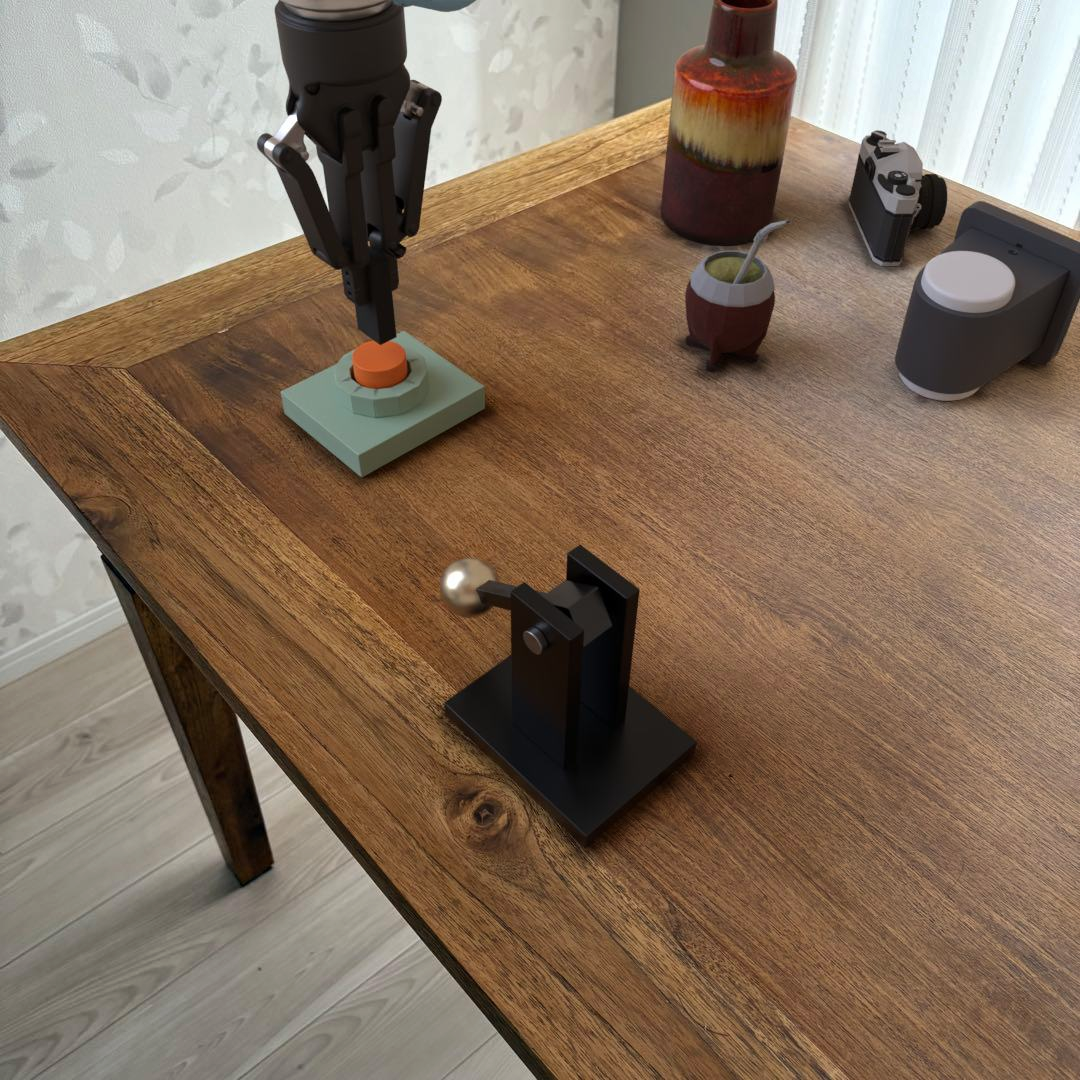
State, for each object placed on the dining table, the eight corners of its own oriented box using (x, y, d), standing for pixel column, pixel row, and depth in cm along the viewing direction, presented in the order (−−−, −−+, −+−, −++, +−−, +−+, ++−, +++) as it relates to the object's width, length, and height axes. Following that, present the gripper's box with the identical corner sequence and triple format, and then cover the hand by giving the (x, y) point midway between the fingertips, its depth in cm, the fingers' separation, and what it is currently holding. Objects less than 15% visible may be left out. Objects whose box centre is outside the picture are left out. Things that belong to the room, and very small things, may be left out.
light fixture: (854, 371, 92) (880, 258, 84) (946, 304, 98) (978, 192, 90) (969, 435, 86) (1009, 320, 78) (1059, 359, 92) (1105, 245, 84)
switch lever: (441, 624, 67) (419, 572, 66) (486, 594, 69) (465, 543, 68) (577, 665, 56) (553, 605, 55) (626, 628, 58) (604, 569, 57)
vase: (760, 188, 112) (795, -26, 98) (781, 245, 105) (823, 21, 90) (653, 190, 112) (673, -25, 97) (668, 247, 104) (691, 23, 90)
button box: (361, 478, 81) (355, 436, 78) (284, 414, 86) (276, 372, 83) (485, 408, 87) (484, 367, 84) (406, 352, 92) (402, 311, 89)
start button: (375, 397, 82) (373, 378, 81) (343, 372, 84) (341, 354, 83) (418, 375, 84) (416, 356, 83) (386, 351, 86) (384, 333, 85)
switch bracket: (444, 715, 67) (432, 570, 57) (553, 636, 71) (557, 490, 62) (585, 849, 60) (596, 710, 51) (694, 754, 65) (723, 610, 56)
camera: (956, 268, 102) (984, 173, 96) (873, 269, 102) (896, 174, 96) (910, 207, 112) (933, 117, 106) (835, 208, 111) (853, 118, 105)
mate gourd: (695, 319, 96) (717, 154, 85) (784, 342, 94) (817, 176, 83) (665, 365, 91) (684, 197, 80) (757, 391, 89) (789, 222, 78)
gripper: (387, -47, 70) (414, 279, 87) (206, 6, 63) (273, 346, 80) (465, -14, 66) (477, 320, 83) (280, 45, 60) (334, 394, 76)
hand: (377, 332), depth 81 cm, fingers closed
